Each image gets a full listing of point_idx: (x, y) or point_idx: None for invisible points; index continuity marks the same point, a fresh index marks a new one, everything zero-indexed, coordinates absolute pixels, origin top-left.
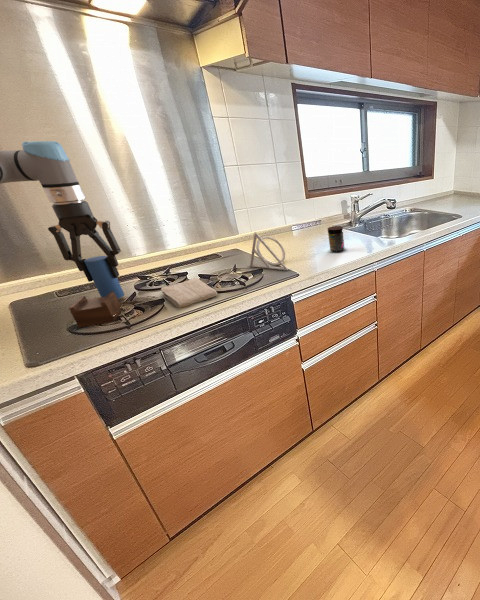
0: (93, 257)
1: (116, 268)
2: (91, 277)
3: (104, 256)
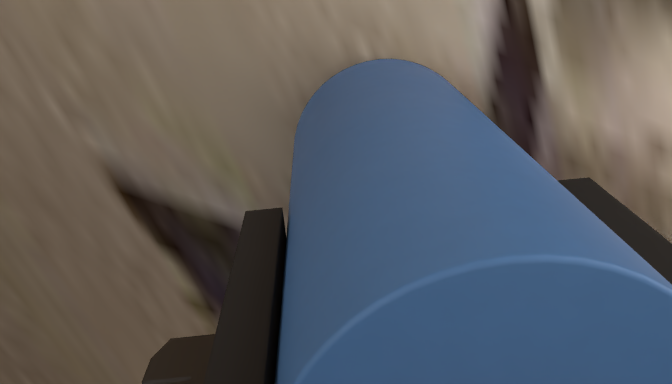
0: (394, 328)
1: (643, 229)
2: None
3: (666, 344)
